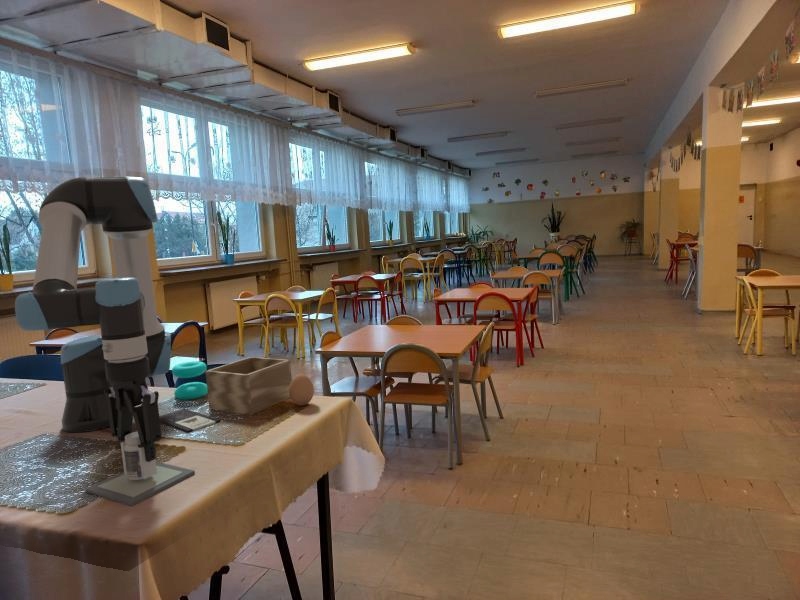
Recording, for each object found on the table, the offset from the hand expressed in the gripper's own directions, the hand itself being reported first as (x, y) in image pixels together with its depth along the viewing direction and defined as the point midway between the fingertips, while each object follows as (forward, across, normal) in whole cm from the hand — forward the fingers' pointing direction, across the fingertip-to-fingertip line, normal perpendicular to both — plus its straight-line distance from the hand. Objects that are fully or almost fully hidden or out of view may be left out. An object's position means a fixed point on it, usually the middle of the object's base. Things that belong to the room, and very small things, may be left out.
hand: (140, 473), depth 105 cm
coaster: (+2, 0, 0) cm, 2 cm away
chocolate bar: (+2, -22, +29) cm, 37 cm away
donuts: (+2, -40, +46) cm, 61 cm away
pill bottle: (+1, 0, 0) cm, 1 cm away
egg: (+2, 0, +50) cm, 50 cm away
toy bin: (+2, -16, +47) cm, 50 cm away
